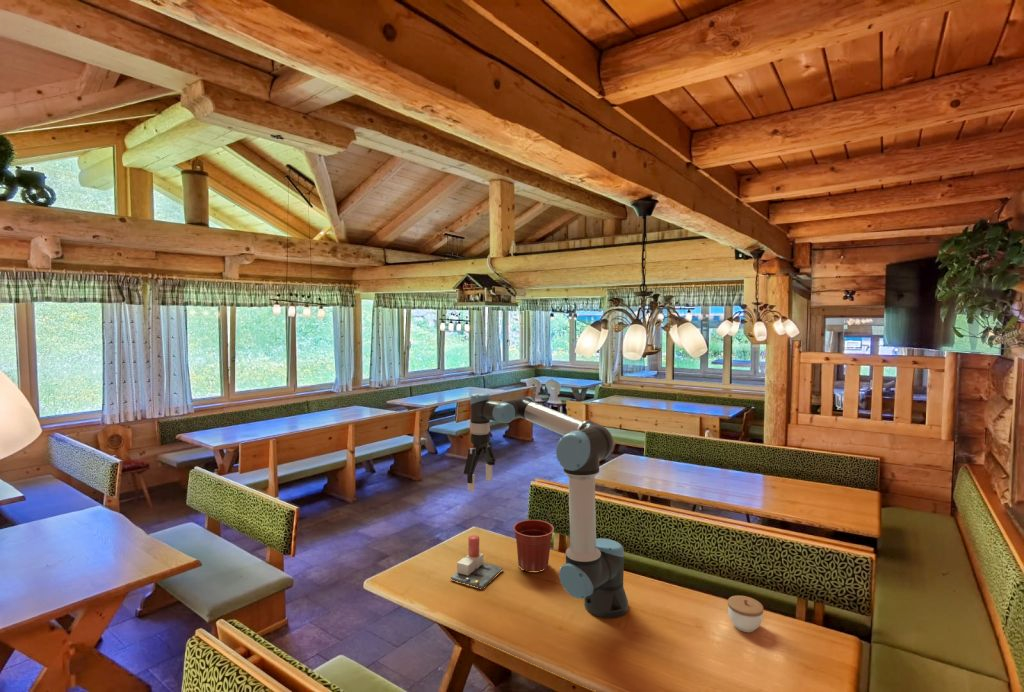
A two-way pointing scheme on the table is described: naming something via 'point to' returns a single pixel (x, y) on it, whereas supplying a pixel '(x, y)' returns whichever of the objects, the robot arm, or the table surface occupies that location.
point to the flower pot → (533, 544)
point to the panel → (479, 575)
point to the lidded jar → (745, 613)
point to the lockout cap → (473, 546)
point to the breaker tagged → (477, 560)
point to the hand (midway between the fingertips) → (480, 485)
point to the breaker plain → (465, 566)
